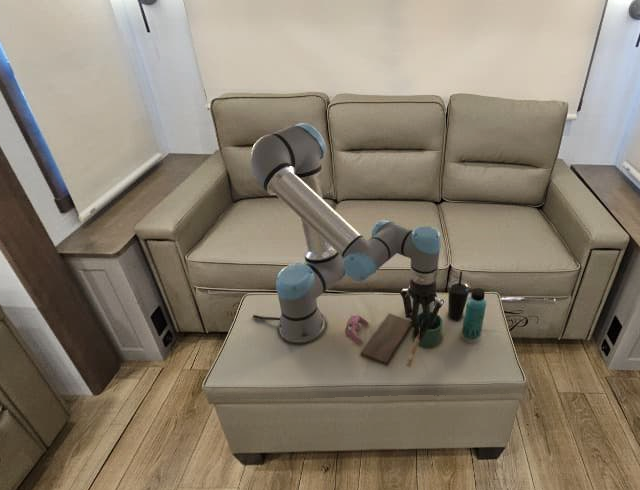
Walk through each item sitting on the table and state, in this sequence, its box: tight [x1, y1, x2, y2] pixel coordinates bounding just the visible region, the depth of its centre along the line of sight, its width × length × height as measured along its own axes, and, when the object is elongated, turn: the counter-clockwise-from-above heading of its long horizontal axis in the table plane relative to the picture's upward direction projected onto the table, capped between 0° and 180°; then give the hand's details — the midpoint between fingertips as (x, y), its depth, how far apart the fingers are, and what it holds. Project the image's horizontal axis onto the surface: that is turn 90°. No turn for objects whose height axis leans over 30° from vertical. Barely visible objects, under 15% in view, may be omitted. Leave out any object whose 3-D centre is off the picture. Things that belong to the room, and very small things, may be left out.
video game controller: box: [344, 313, 369, 345], centre depth 142 cm, size 10×5×7 cm, turn 168°
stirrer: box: [405, 329, 420, 368], centre depth 133 cm, size 1×13×13 cm
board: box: [360, 313, 412, 365], centre depth 142 cm, size 9×20×1 cm, turn 155°
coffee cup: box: [413, 312, 443, 348], centre depth 140 cm, size 9×9×8 cm
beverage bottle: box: [461, 287, 487, 341], centre depth 138 cm, size 6×7×20 cm
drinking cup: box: [447, 270, 472, 321], centre depth 145 cm, size 8×8×20 cm
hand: (418, 335), depth 133 cm, fingers closed on stirrer
